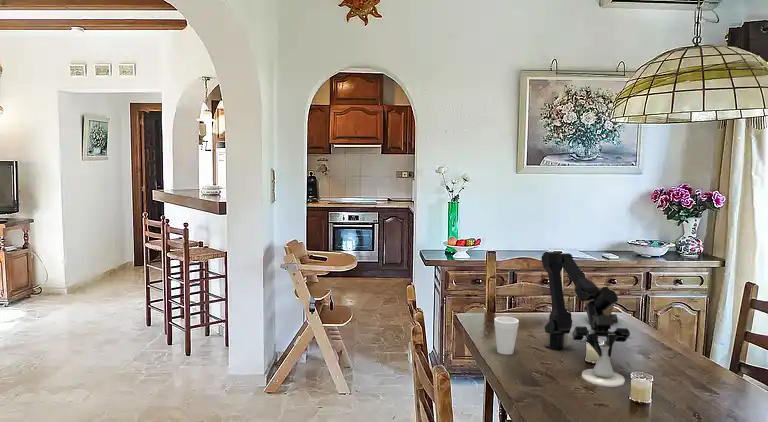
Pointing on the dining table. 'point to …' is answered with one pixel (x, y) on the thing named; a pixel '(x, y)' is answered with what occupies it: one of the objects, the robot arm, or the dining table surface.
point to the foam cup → (506, 334)
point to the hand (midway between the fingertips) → (605, 356)
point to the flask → (603, 363)
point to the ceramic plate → (603, 379)
